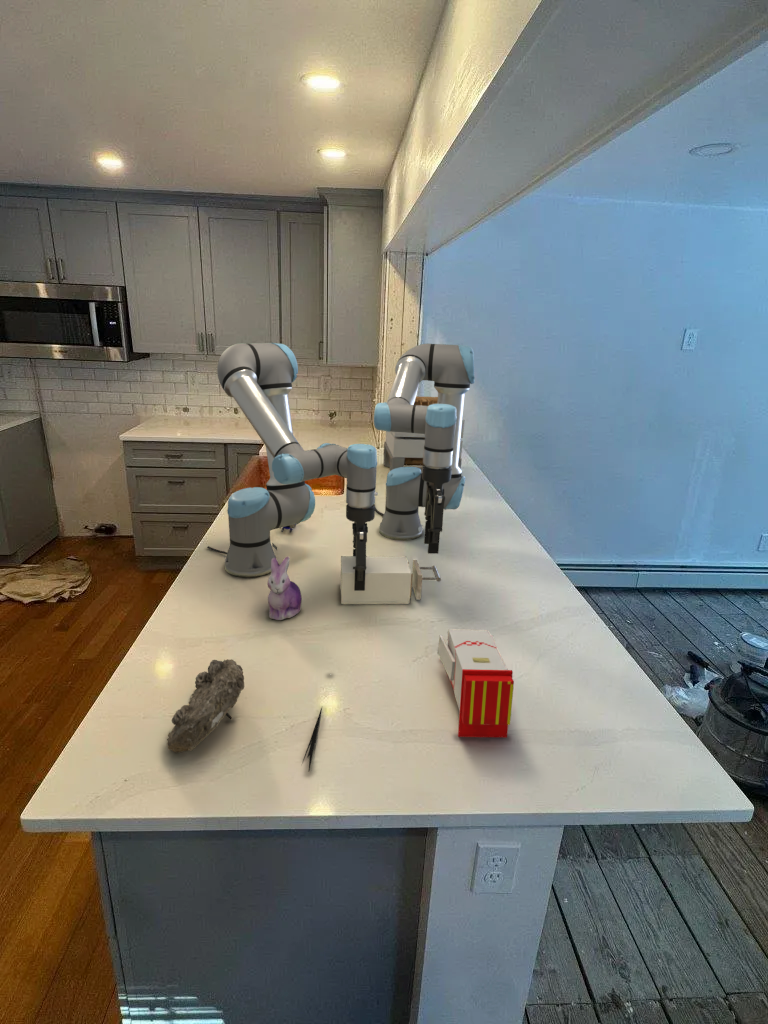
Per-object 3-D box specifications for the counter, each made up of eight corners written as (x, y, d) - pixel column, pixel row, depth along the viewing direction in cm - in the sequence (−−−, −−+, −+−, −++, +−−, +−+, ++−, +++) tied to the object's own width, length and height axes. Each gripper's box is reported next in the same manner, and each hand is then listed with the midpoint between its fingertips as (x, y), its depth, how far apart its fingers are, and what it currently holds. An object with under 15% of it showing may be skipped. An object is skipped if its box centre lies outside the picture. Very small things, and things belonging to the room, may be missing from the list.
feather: (331, 679, 122) (336, 673, 122) (307, 777, 96) (313, 769, 95) (324, 675, 122) (329, 669, 121) (298, 772, 95) (304, 764, 95)
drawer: (433, 583, 163) (435, 559, 160) (440, 599, 154) (442, 575, 151) (355, 583, 161) (356, 559, 158) (357, 600, 152) (357, 575, 149)
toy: (488, 613, 130) (523, 677, 101) (484, 667, 133) (517, 744, 104) (435, 612, 130) (455, 676, 101) (432, 666, 133) (451, 743, 103)
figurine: (272, 625, 139) (271, 570, 134) (261, 606, 148) (259, 553, 143) (309, 617, 144) (308, 563, 139) (295, 599, 152) (295, 548, 147)
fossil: (192, 660, 117) (244, 628, 112) (224, 691, 120) (276, 661, 115) (142, 746, 98) (202, 712, 93) (182, 779, 101) (242, 748, 96)
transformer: (382, 463, 289) (386, 382, 275) (445, 464, 293) (451, 384, 279) (390, 482, 257) (394, 392, 243) (460, 483, 261) (468, 394, 247)
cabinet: (404, 585, 163) (406, 556, 160) (409, 603, 153) (411, 573, 150) (340, 585, 161) (341, 555, 158) (341, 604, 151) (341, 573, 148)
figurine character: (295, 538, 195) (300, 518, 208) (295, 519, 192) (300, 500, 205) (276, 538, 195) (282, 518, 208) (275, 518, 191) (281, 499, 205)
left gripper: (378, 520, 137) (375, 600, 144) (371, 490, 159) (369, 561, 166) (347, 520, 136) (345, 601, 144) (344, 490, 158) (343, 561, 166)
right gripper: (459, 476, 137) (451, 562, 145) (444, 456, 155) (438, 535, 163) (429, 475, 137) (422, 562, 145) (417, 456, 154) (412, 535, 162)
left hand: (358, 580), depth 155 cm, fingers closed on cabinet, 11 cm apart
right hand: (430, 548), depth 154 cm, fingers open, 6 cm apart
